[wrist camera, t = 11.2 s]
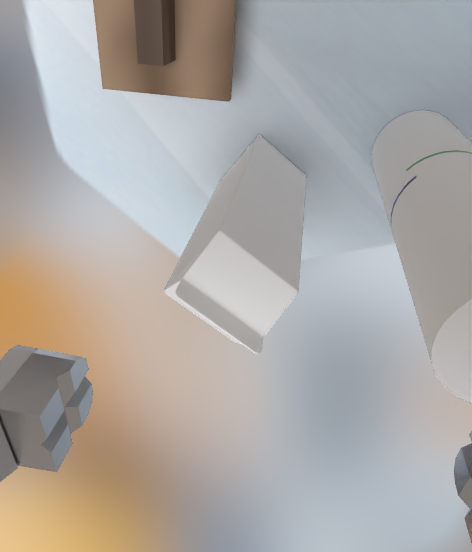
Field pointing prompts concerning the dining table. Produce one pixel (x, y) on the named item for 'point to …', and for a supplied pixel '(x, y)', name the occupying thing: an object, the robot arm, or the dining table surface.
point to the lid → (167, 46)
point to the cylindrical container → (433, 233)
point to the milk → (245, 248)
